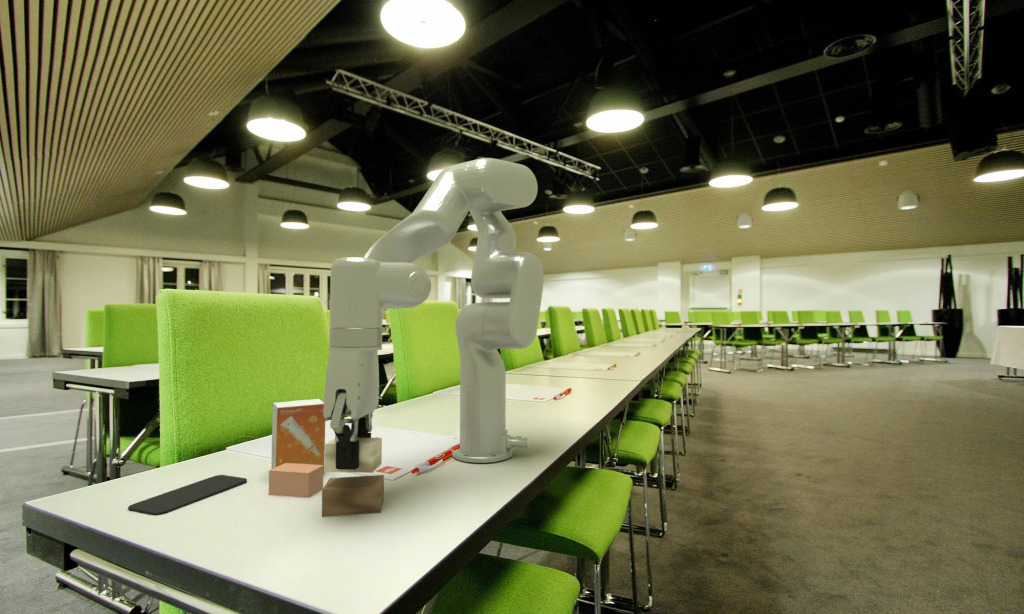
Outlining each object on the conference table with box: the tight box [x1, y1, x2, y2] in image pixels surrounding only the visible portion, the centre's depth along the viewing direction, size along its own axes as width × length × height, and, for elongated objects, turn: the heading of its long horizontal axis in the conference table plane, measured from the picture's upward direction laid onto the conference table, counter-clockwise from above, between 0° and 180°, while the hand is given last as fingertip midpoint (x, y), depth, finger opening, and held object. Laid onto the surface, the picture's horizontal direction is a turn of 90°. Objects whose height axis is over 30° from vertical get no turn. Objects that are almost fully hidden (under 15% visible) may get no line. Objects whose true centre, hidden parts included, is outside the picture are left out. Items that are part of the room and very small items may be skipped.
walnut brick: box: [321, 474, 385, 518], centre depth 68 cm, size 8×5×4 cm, turn 100°
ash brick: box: [324, 437, 383, 474], centre depth 68 cm, size 7×4×4 cm, turn 87°
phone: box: [127, 474, 248, 516], centre depth 73 cm, size 7×1×15 cm
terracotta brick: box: [268, 463, 324, 499], centre depth 74 cm, size 7×4×4 cm, turn 80°
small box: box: [270, 398, 326, 476], centre depth 83 cm, size 8×6×13 cm
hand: (353, 462), depth 68 cm, fingers closed on ash brick, 4 cm apart
